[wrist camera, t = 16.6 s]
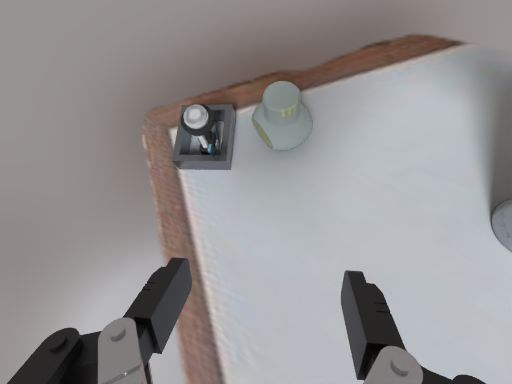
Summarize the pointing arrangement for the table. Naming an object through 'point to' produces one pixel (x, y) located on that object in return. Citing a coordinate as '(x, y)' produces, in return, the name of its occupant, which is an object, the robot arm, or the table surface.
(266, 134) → the air freshener
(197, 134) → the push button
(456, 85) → the table surface
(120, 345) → the robot arm
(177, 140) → the square socket
